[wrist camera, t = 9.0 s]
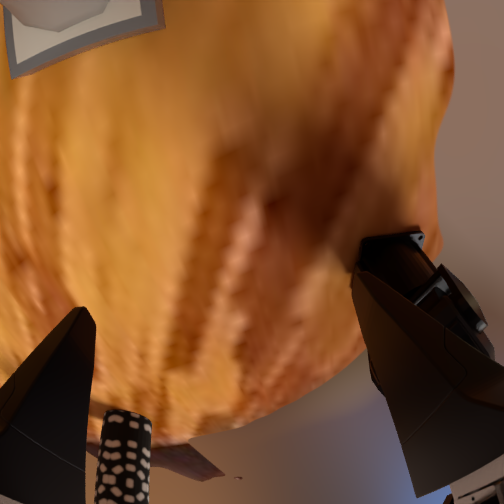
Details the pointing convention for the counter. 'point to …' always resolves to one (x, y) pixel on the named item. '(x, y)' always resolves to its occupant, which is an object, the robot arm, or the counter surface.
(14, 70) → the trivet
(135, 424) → the white-spotted black cylinder
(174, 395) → the counter surface
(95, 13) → the flask
